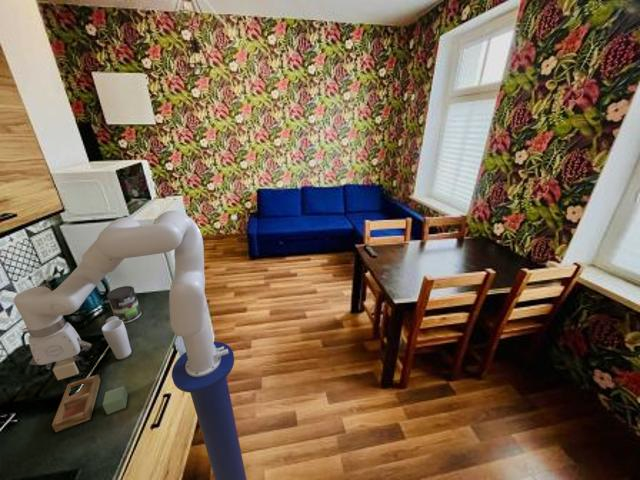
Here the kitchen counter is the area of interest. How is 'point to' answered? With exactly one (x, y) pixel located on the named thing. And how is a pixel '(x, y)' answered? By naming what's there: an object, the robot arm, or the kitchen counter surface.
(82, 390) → the pad frame
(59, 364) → the cream pad
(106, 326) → the drinking glass
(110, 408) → the sage pad
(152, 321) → the kitchen counter surface
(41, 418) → the kitchen counter surface
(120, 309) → the coffee can
